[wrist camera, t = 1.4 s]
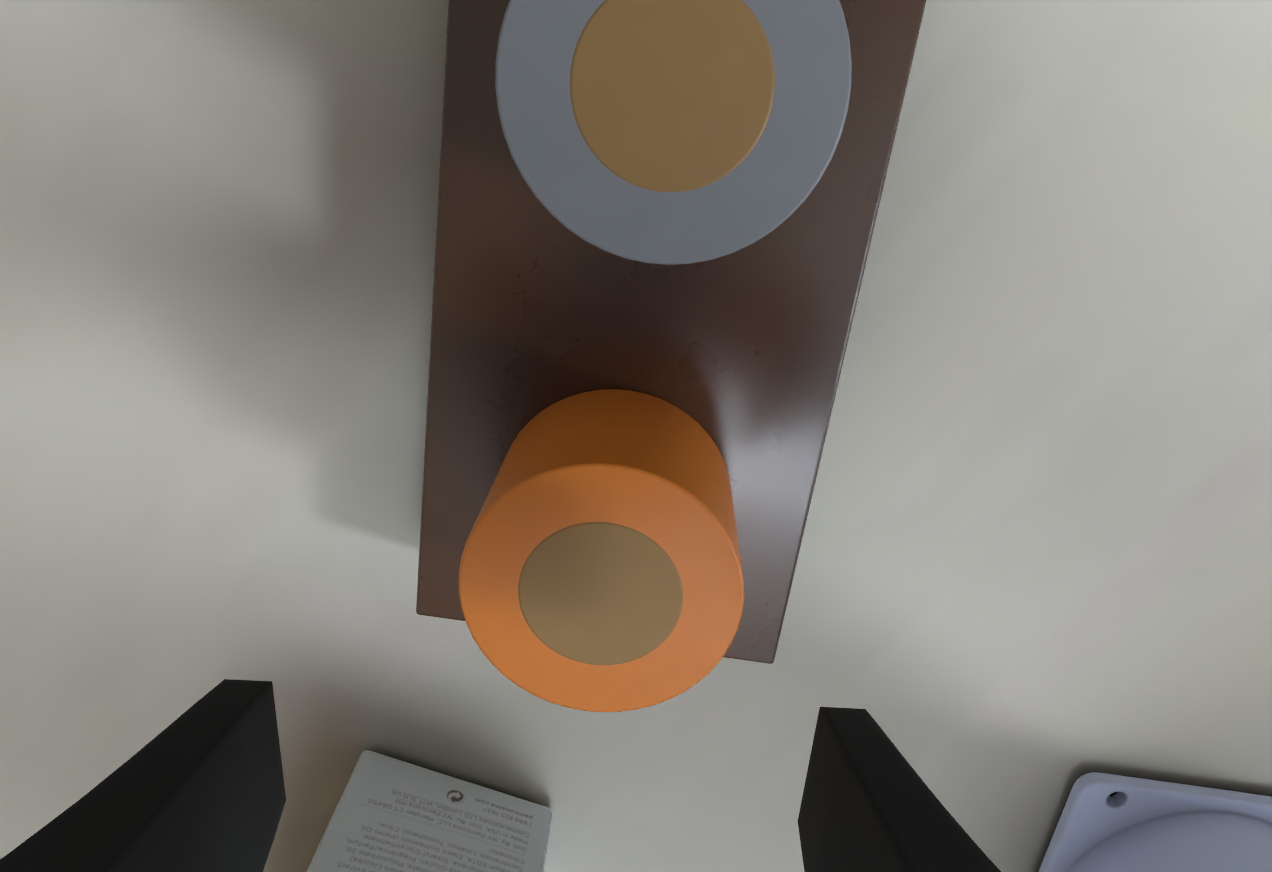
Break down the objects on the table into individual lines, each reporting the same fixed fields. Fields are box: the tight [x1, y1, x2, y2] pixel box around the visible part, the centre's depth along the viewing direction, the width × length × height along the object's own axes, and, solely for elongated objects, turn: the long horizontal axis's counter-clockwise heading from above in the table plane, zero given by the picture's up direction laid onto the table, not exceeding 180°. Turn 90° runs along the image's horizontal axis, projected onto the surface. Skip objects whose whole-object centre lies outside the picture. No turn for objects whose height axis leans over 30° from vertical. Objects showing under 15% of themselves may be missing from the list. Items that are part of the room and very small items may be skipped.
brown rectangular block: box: [416, 0, 926, 664], centre depth 18 cm, size 8×15×3 cm, turn 172°
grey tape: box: [495, 0, 852, 265], centre depth 14 cm, size 5×5×4 cm
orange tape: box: [459, 389, 744, 712], centre depth 17 cm, size 5×5×4 cm
